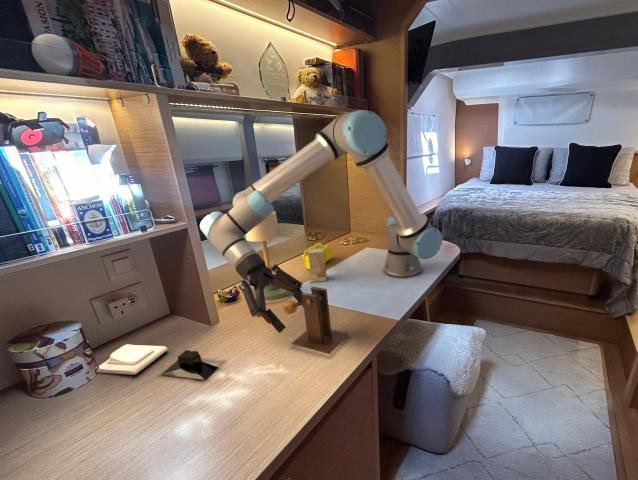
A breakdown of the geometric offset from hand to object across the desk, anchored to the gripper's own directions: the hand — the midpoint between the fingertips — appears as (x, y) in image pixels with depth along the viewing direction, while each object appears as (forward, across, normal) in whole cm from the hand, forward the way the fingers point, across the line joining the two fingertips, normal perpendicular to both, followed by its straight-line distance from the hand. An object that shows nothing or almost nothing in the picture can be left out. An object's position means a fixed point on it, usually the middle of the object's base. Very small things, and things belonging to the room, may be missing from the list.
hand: (297, 319), depth 94 cm
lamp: (-15, -20, -24) cm, 34 cm away
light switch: (-20, +26, -30) cm, 44 cm away
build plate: (-7, +22, -17) cm, 29 cm away
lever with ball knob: (-1, 0, +5) cm, 5 cm away
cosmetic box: (-9, -38, -18) cm, 43 cm away
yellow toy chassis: (-16, -53, -25) cm, 61 cm away
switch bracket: (+9, 0, 0) cm, 9 cm away
